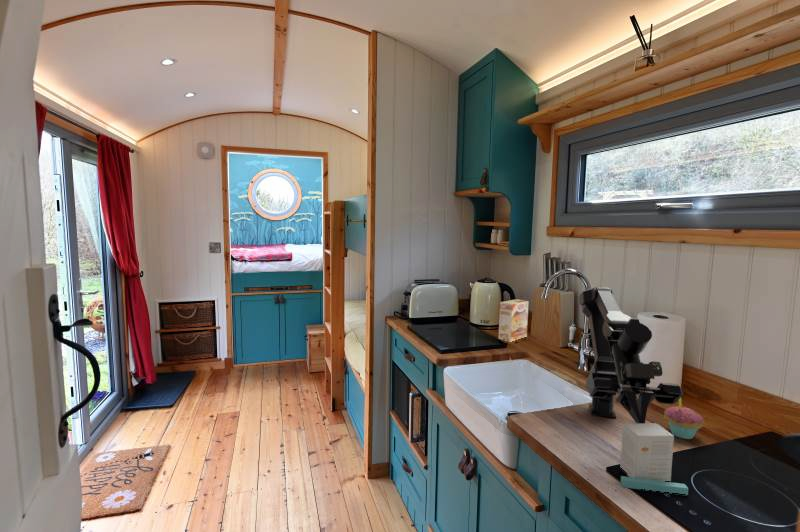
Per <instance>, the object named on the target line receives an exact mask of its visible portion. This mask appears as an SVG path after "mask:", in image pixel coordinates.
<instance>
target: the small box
mask: <svg viewBox="0 0 800 532" xmlns="http://www.w3.org/2000/svg"><path fill="white" fill-rule="evenodd" d="M621 435H622V437H621V452H620V465H619V466H620V469H621V468H622V469H623V470H624V471H625V472H626V473H627V474H626V473H625V472H624V471H623V470H622V469H621V470H622V471H623V472H624V473H625V474H626V475H627V477H633V478H641V479H649V480H657V481H670V482H671V481H672V466H673V455H674V454H673V453H674V443H675V435H673V434H672V433H671V431H670V432H669V431H668V430H666V428H664V427H662V425H660V424H659V423H653V422H652V423H651V422H647V423H646V422H645V423H636V422H635V423H623V424H622V434H621Z"/></svg>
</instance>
